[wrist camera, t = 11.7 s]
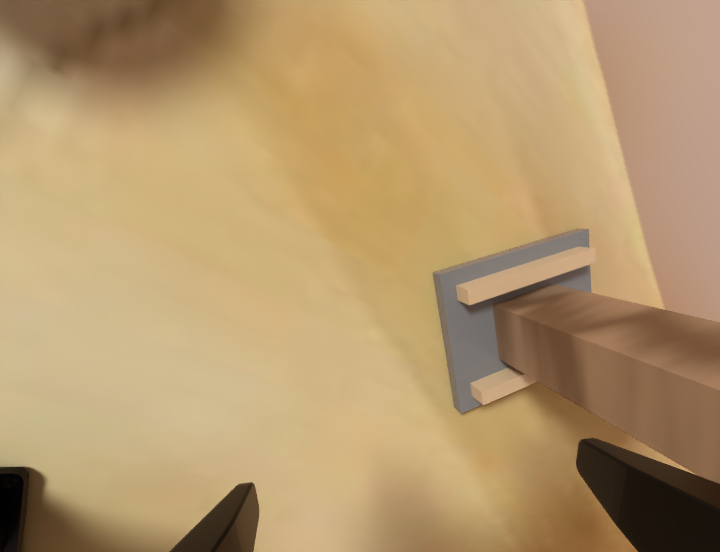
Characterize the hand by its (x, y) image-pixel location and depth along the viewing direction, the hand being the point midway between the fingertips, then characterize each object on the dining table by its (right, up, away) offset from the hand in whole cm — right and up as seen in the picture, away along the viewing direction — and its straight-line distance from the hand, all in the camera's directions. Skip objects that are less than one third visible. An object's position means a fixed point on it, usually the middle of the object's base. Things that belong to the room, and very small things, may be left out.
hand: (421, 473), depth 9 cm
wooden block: (+10, +2, +14) cm, 17 cm away
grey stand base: (+10, +2, +15) cm, 18 cm away
